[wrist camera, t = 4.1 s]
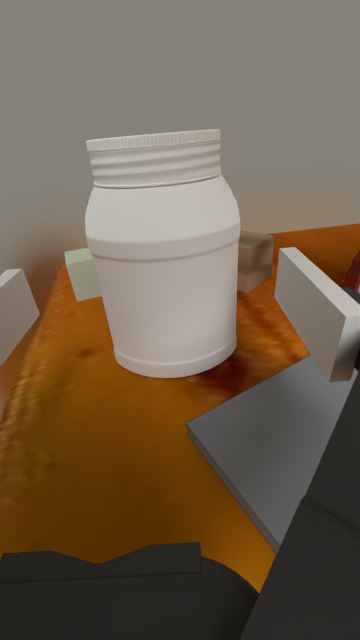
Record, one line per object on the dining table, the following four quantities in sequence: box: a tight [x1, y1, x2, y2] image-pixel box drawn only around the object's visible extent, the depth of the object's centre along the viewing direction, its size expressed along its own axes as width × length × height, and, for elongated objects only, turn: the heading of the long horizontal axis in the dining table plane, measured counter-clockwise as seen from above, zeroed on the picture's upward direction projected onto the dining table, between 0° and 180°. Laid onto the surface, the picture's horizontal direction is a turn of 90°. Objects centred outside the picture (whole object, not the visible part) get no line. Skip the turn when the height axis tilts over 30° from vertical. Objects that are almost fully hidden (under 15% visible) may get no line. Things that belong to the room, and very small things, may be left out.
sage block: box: [65, 248, 102, 301], centre depth 34 cm, size 4×4×4 cm
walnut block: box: [237, 231, 275, 293], centre depth 33 cm, size 5×5×5 cm
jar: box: [85, 129, 241, 378], centre depth 22 cm, size 12×10×15 cm
